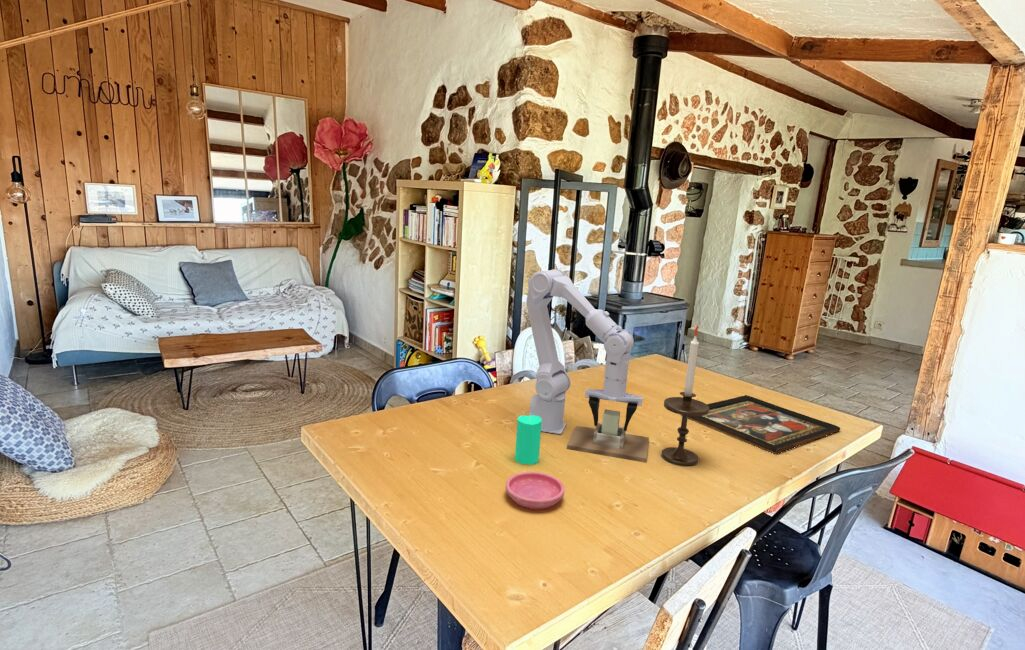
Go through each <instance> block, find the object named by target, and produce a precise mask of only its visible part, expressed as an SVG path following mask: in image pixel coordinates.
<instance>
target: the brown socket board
mask: <svg viewBox="0 0 1025 650" xmlns="http://www.w3.org/2000/svg"><path fill="white" fill-rule="evenodd" d="M601 432H602V423H601V422H598V424H597V426H595V428H594V427H593V428H592V427H588V426H586V427H585V426H580V425H576V426H575V427H574V429H573V431H572V433H571V435H570V437H569V440H568V442H567V444H566V449H567V450H571V451H572V450H573V451H578V452H584V453H590V454H595V455H601V456H608V457H613V458H618V459H624V460H631V461H636V462H642V463H647V459H648V451H649V442H650V441H649V440H650V437H649V436H643V435H637V434H632V433H631V434H630V433H626V432H627V431H624V426H619V429H618V436H614V435H608V434H602V433H601Z"/></svg>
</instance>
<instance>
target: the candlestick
mask: <svg viewBox="0 0 1025 650" xmlns="http://www.w3.org/2000/svg"><path fill="white" fill-rule="evenodd" d="M698 330H699V325H698V323H697V324H696V327H695V329H694V331H693V333H694V337H693V339H692V340H690V346H689V353H688V358H687V359H688V361H687V368H686V369H687V370H686V375H685V376H686V377H685V384H684V390H683V391H680V392H679V395H681V396H672V397H668V398H667V397H666V398H665V399H664V401H663V407H664V409H666V410H667V411H669V412H671V413H674V414H676V415H677V414H678V415H680V416H681V423H680V427H677V430H676V431H677V433H678V437H677V438H676V441H678V444H677V445H678V446H677V447H675V446H673V447H672V446H671V447H670V446H669V447H665V448H663V449H662V450H661V454H660V456H661V458H662V459H663V460H664V461H666V462H667V463H669V464H671V465H675V466H681V467H693V466H696V465H697V464H698V463H699V456H698V454H696V453H695V452H693V451H691V450H690V449H686V448H685V443H686V442H688V439H687V438H686V436H687V435H688V434H689V433H690V431H689V429H688V427H687V425H688V420H689V419H688V416H705V415H707V414H708V413H709V409H710V408H709V406H708V405H707V404H708V403H705V402H703V401H700V400H699V399H698V400H697V399H694V398H696V397H697V394H695V393H693V389H694V381H695V380H694V379H695V375H696V374H695V373H696V366H697V359H698V351H699V344H700V343H699V341H698V337H697V336H698Z"/></svg>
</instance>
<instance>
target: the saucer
mask: <svg viewBox="0 0 1025 650" xmlns="http://www.w3.org/2000/svg"><path fill="white" fill-rule="evenodd" d="M505 482H506V483H505V491H506V493H507V495H508V496H509V498H511V499H512V500H513V502H515V504H516V505H518V504H519V505H518V506H520V507H522V508H524V507H526V508H525V509H528V508H529V509H528V510H537V509H538V510H544V509H545V508H546V509H550V508H551V507H553V506H554V505H556V504H558V502H560V500H562V499H563V498H564V495H565V485H564V484H563V482H562V481H561V480H560V479H559V478H557V477H556V476H553V475H552V474H548V473H545V472H541V471H523V472H517V473H515V474H513V475H511V476H509V477H508V478H507V480H506V481H505Z"/></svg>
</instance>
